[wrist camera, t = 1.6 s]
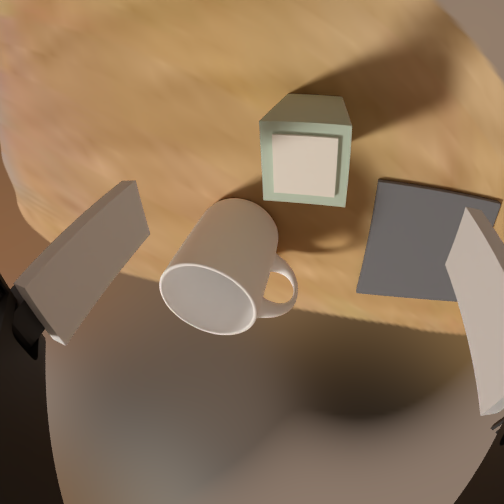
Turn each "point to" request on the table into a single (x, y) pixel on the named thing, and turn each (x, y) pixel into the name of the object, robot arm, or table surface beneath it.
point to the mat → (415, 240)
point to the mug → (226, 270)
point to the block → (306, 150)
